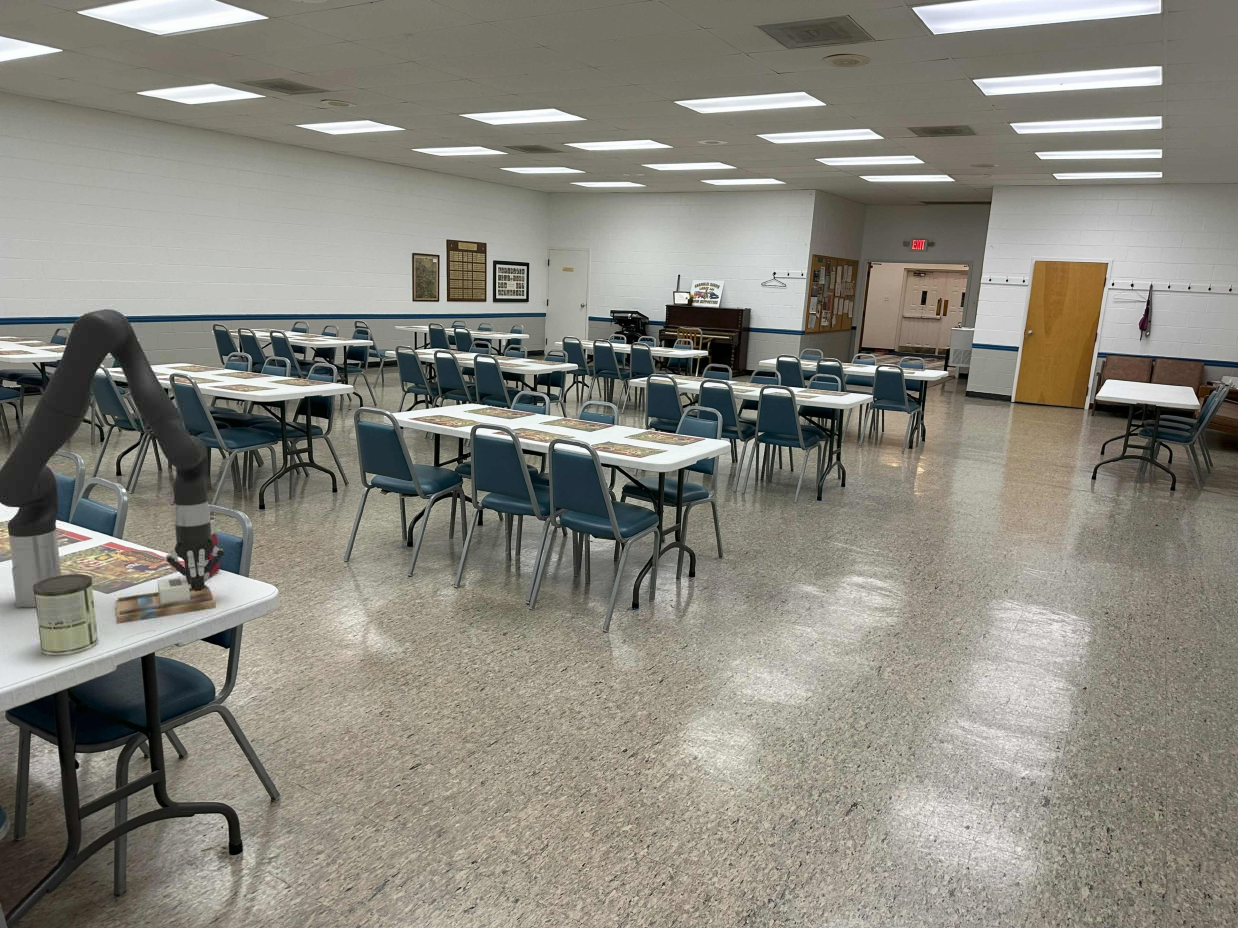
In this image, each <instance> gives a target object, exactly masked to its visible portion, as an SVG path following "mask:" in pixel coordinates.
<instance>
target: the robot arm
mask: <svg viewBox="0 0 1238 928" xmlns="http://www.w3.org/2000/svg"><path fill="white" fill-rule="evenodd" d="M108 355H110V356H112V358H113V359H114V360H115V362H116V363H117V364H118V365H119V367H120V369H121V371H122V372H123V375H124V377H125V379H126V382H127V385H128V389H129V392H130V395H131V398H132V400H133V403H134V405H135V408H136V409H137V411H138V412H139V414H140V415H141V416H142V418H143V419H144V422H146V424H147V426H148V427H149V429H151V430H152V432H153V434H154V436H155V439H156V441H157V444H158V446H159V447H160V450H161V452H162V453H163V456H164V457H165V458H166V460H167V461H168V462H169V463H170V465H171V466H173V467H174V468H175V469H176V470H175V473H176V477H175V479H174V482H173V484H172V485H173V503H174V508H173V516H174V517H173V521H174V527H175V540H176V542H175V543H176V544H175V546H174V551H173V552H172V553H170V554H167V555H166V556H165V559H166V562H167V563H168V564H169V565H170V566H172V567H173V568H174V569H175V570H177V571H178V572H179V574H181V575H182V576H185V577H186V576H190V582H191V584H190V587H191V588H192V589H194V590H195V591H202V588H204V586H205V585H206V584H205V580H204V574H206V573H208V572H211V571H212V570H213V568H214V567H215V566H216V564H217V563H218V562H219V563H220V561H221V559H222V558H223V556H224V555H225V552H224V550H223V548H221V547H218V548H217V547H216V546H215V545H214V543H213V541H212V536H211V523H210V517H211V513H210V511H211V510H210V506H209V501H208V500H209V499H208V489H207V480H206V478H207V471H208V470H207V468H208V450H207V446H206V444H205V442H204V441H203V440H202V439H201V438H200V437H198V436H196V435H189V433H188V431H187V430H186V428H185V426H184V418H183V415H182V414H181V413H180V411H179V410H178V407H176V405H175V404H174V402H173V400H172V399H171V397H170V396H169V395H168V394H167V391H166V390H165V389H164V387H163V385H162V384H161V382H160V381H159V379H158V377H157V376H156V375H157V374H155V372H154V370H153V367H152V366H151V364H150V362H149V360H148V358H147V356H146V354H145V352H144V350H143V348H142V346H141V343H140V342H139V339H138V337H137V335H136V332H135V331H134V329H133V327H132V324H131V323H130V321H129V320H128V319H127V317H126V315H124V314H122V313H121V312H120V311H118V310H115V309H111V308H110V309H109V308H108V309H107V308H106V309H100V310H95V311H90V312H87V313H84V314H82V315H81V316H79V317H78V318H77V319H76V320H75V322H74V323H73V325H72V328H71V330H70V334H69V336H68V340H67V341H66V345H65V348H64V350H63V353H62V356H61V359H60V361H59V363H58V365H57V366H56V368H55V370H54V372H53V374H52V376H51V378H50V379H49V382H48V383H47V385H46V387H45V389H44V391H43V392H42V395H41V396H40V398H39V400H38V402H37V404H36V406H35V408H34V409H33V413H32V415H31V417H30V419H29V421H28V423H27V425H26V426H25V428H24V431H23V432H22V434H21V437H20V438H19V440H18V442H17V445H16V446H15V448H14V449H13V451H12V452H11V454H10V455H9V457H8V458H7V459H6V461H5V463H4V464H3V466H2V467H1V468H0V504H1V505H3V506H5V507H8V508H18V510H17V512H16V514H15V515H14V516H13V517H12V518H11V519H10V520H9V521H8V522H7V531H8V540H9V547H10V557H11V564H12V567H11V571H12V572H11V573H12V579H13V580H12V581H13V588H14V597H15V605H16V608H17V609H18V608H36V603H35V596H34V591H33V585H34V584H36V583H37V582H39V581H42V580H44V579H47V578H51V577H56V576H61V575H62V569H61V561H60V560H61V559H60V551H59V542H58V534H57V520H58V517H59V500H58V499H59V497H58V485H57V479H56V477H55V473H54V472H53V471H52V469H51V468H50V467H49V466H47V463H48V462H49V460H50V459H51V458H52V457H53V456H54V455H55V454H56V453H57V452H58V451H60V449H61V448H62V447H63V446H64V445H65V444H67V443H68V441H70V440H71V438H72V437H73V436H74V435H75V434H76V432H77V431H78V429H79V428H80V427H81V425H82V423H83V421H84V419H85V417H86V415H87V413H88V411H89V409H90V406H91V403H92V402H91V401H92V394H93V393H92V392H93V391H92V390H93V389H92V388H93V381H94V378H95V375H96V373H97V372H98V370H99V368H100V366H101V365H102V363H103V362H104V360H105V359H106V358H107V356H108ZM212 550H213V553H212V554H213V557H212V558H211V559H210V561H209V562H208V563H207V565H206V566H205V567H204V560H206V559H207V558H208V556H209V555H210V553H211V552H212ZM178 556H179V557H180V558H181V559H182V560H183V561H185V562H187V563H188V566H189V569H186V568H185V566H183V565H182V563H180V562H179V557H178ZM185 562H184V563H185ZM194 562H197V574H196V570H195V563H194Z"/></svg>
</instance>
